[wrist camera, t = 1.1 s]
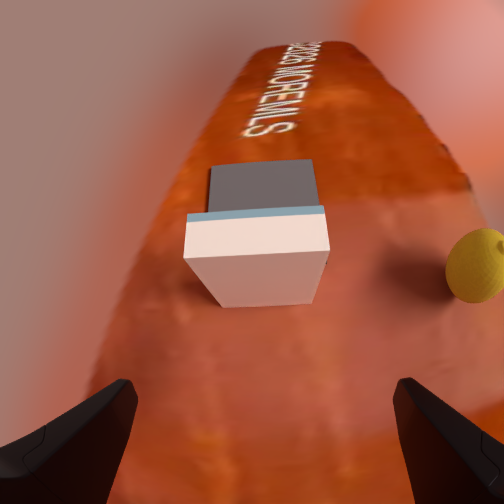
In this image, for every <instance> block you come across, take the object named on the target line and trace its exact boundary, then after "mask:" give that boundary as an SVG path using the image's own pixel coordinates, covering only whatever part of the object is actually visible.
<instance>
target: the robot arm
mask: <svg viewBox="0 0 504 504" xmlns="http://www.w3.org/2000/svg"><path fill="white" fill-rule="evenodd" d="M137 404H138V396H137V394H136V391H135V389H134V386H133V384H132V382H131V381H130V380H127V379H118V380H116V381H115V382H113V383H112V384H110V385H108V386H107V387H105V388H104V389H102V390H101V391H99V392H97V393H96V394H94V395H93V396H91V397H90V398H88V399H86V400H85V401H83V402H82V403H80V404H78V405H77V406H75V407H74V408H72V409H70V410H69V411H67V412H66V413H64V414H62V415H61V416H59V417H57V418H56V419H54V420H52V421H51V422H49V423H47V424H46V425H44V426H42V427H41V428H39V429H37V430H36V431H34V432H32V433H30V434H28V435H26V436H24V437H22V438H20V439H18V440H16V441H14V442H12V443H9V444H7V445H5V446H3V447H0V504H106V503H107V500H108V497H109V494H110V491H111V488H112V485H113V482H114V479H115V476H116V473H117V470H118V467H119V464H120V462H121V459H122V456H123V453H124V451H125V448H126V445H127V442H128V439H129V436H130V432H131V428H132V424H133V420H134V416H135V412H136V408H137ZM393 405H394V411H395V416H396V422H397V429H398V435H399V440H400V444H401V448H402V452H403V455H404V459H405V463H406V467H407V471H408V475H409V479H410V483H411V487H412V491H413V496H414V500H415V504H504V444H502V443H500V442H499V441H497V440H496V439H494V438H493V437H492V436H490V435H489V434H487V433H486V432H485V431H483V430H481V429H480V428H479V427H478V426H476V425H475V424H474V423H472V422H471V421H470V420H468V419H467V418H466V417H464V416H463V415H461V414H460V413H459V412H457V411H456V410H455V409H453V408H452V407H451V406H449V405H448V404H447V403H445V402H444V401H443V400H441V399H440V398H439V397H437V396H436V395H434V394H433V393H432V392H430V391H429V390H428V389H426V388H425V387H424V386H422V385H421V384H420V383H418V382H417V381H416V380H414V379H413V378H411V377H408V378H402V379H400V380H399V381H398V383H397V386H396V389H395V392H394V396H393Z"/></svg>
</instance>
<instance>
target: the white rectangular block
mask: <svg viewBox="0 0 504 504" xmlns="http://www.w3.org/2000/svg"><path fill="white" fill-rule="evenodd" d="M329 252H330V247H329V240H328V232H327V226H326V219H325V212H324V206H301V207H281V208H264V209H248V210H234V211H220V212H208V213H196V214H188V216H187V226H186V236H185V247H184V260H185V261H186V262H187V263H188V265H189V266H190V267H191V269H192V270H193V271H194V272H195V274H196V275H197V276H198V277H199V279H200V280H201V281H202V283H203V284H204V285H205V286H206V288H207V289H208V290H209V291H210V293H211V294H212V295H213V296H214V298H215V299H216V300H217V301H218V302H219V304H220V305H221V306H222V307H223V308H227V307H258V306H280V305H299V304H312V301H313V298H314V295H315V293H316V290H317V287H318V284H319V281H320V278H321V276H322V273H323V270H324V267H325V264H326V261H327V258H328V255H329Z"/></svg>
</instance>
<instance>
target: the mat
mask: <svg viewBox="0 0 504 504" xmlns="http://www.w3.org/2000/svg"><path fill="white" fill-rule="evenodd" d="M301 206H319V200H318V194H317V187H316V182H315V176H314V170H313V164H312V159H308V160H284V161H267V162H253V163H240V164H229V165H218V166H212V170H211V182H210V194H209V207H208V212H220V211H234V210H248V209H264V208H281V207H301ZM326 264H327V261H326Z"/></svg>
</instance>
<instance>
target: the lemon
mask: <svg viewBox="0 0 504 504" xmlns="http://www.w3.org/2000/svg"><path fill="white" fill-rule="evenodd" d="M445 274H446V280H447V283H448V286H449V288H450V290H451V291H452V293H453V294H454V295H455V296H456V297H457V298H459V299H460V300H462V301H464V302H467V303H481V302H484V301H487V300H489V299H491V298H493V297H494V296H495V295H497V294H498V293H499V292H500V291H501V290H502V289H503V288H504V236H503V235H502V234H500V233H499V232H497V231H495V230H493V229H488V228H482V229H478V230H475V231H472V232H470V233H468V234H467V235H465V236H464V237H463V238H461V239H460V240H459V241H458V242H457V243H456V244H455V246H454V247H453V249H452V250H451V252H450V254H449V256H448V259H447V263H446V272H445Z"/></svg>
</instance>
